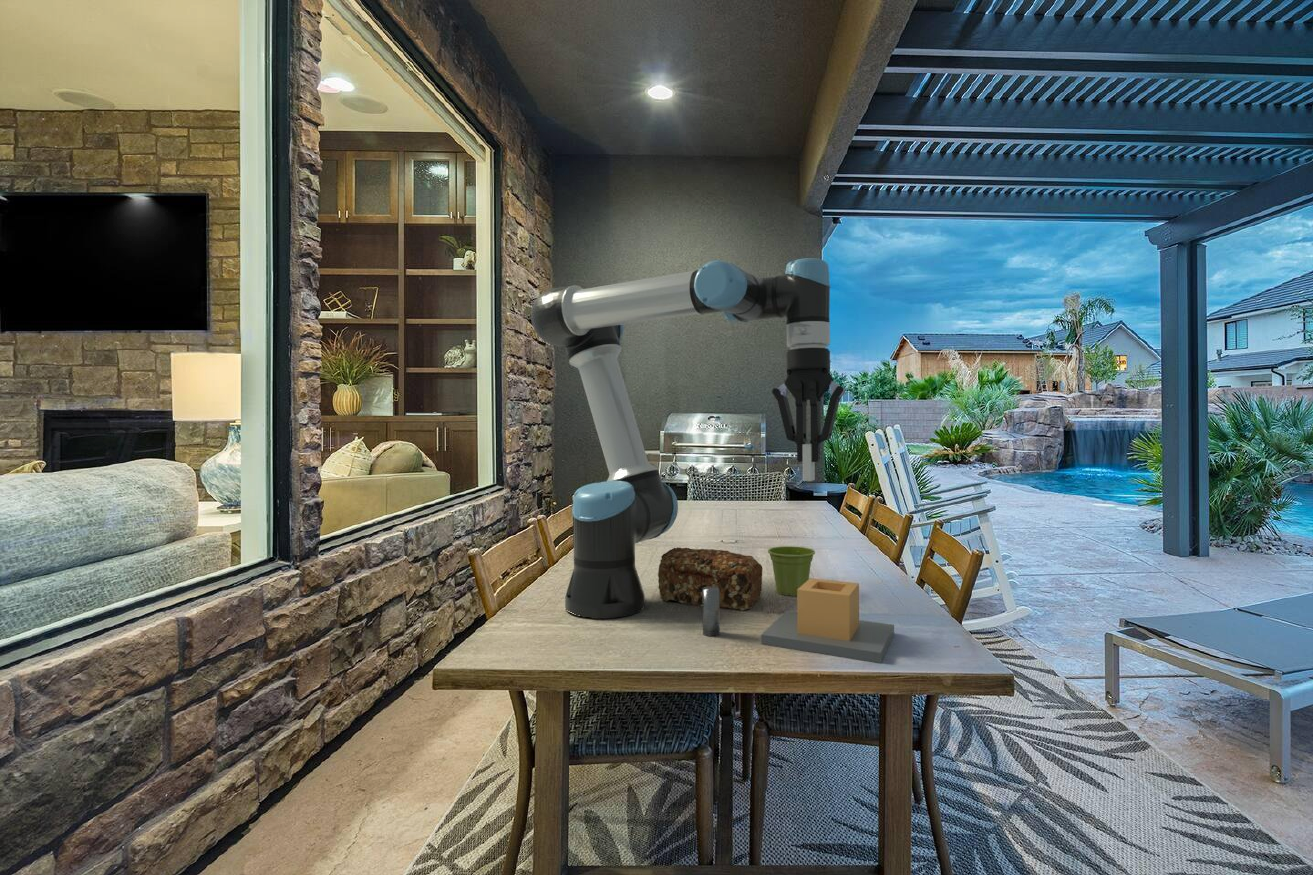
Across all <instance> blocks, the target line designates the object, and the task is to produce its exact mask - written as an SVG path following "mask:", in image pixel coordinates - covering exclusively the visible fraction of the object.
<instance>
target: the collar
mask: <svg viewBox="0 0 1313 875" xmlns="http://www.w3.org/2000/svg"><path fill="white" fill-rule="evenodd" d="M796 598H797V599H796V600H797V605H796V606H797V611H796V612H797V628H798V634H805V635H812V636H818V637H825V638H832V639H838V640H845V641H850V639H851V638H852V636H853V635H854V633H855V631H856V630H857V628H858V627H859V620H860V583H859V582H851V581H850V582H849V581H840V580H830V579H824V578H821V579H820V578H811V577H809V580H807V581H806V582H805V583H804V584H803V585H802V586H801V587H800V588H798V589H797V596H796Z"/></svg>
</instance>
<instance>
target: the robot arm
mask: <svg viewBox="0 0 1313 875" xmlns="http://www.w3.org/2000/svg"><path fill="white" fill-rule="evenodd" d="M785 267H786V268H785V271H784V274H781V275H777V276H776V275H775V276H768V277H758V276H755V275H753V274H751V273H750V272H747V270H746V271H745V270H744V269H742V268H740V267H739V266H737V265H736V264H734V263H730V262H728V261H722V260H711V261H709V262H707V263H705V264H703V266H702V267H700V269H697V270H691V271H684V272H679V273H673V274H666V275H662V276H661V275H660V276H655V277H649V278H642V279H635V280H631V281H630V280H629V281H624V282H619V283H617V282H616V283H612V284H608V285H607V284H606V285H601V286H596V287H595V286H594V287H588V288H583V287H582V286H579V285H577V284H574V285H568V286H562V287H554V288H551V289H548V290H545V291H544V292H542V293H541V294H540V295H538V297H537V298H536V300H535V301H534V303H533V305H532V308H531V313H530V314H531V315H530V316H531V317H530V318H531V326H532V327H533V330H534V331H535V334H537V336H538V337H539V338H540V339H541V340H542V341H543V342H546V344H549V345H551V346H553V347H554V346H555V347H560V348H565V353H566V355H567V358H568V362H569V365H570V366H572V367H574V368H576V369H577V370H578V371H579V372H578V373H579V376H580V378H581V382H582V385H583V388H584V392H585V395H586V398H587V402H588V405H589V410H590V412H591V415H592V419H593V423H594V427H595V429H596V433H597V436H598V439H599V443H600V446H601V450H602V452H603V457H604V459H605V464H606V467H607V470H608V474H609V475H608V477H607V479H606V481H601V482H593V483H588V484H586V485H582V486H581V487H579V488H577V490H576V491H575V492H574V495H573V496H572V497H573V498H572V509H571V515H572V529H573V530H572V531H573V532H572V533H573V534H572V535H573V537H572V538H573V540H572V543H573V544H572V545H573V569H572V573H571V576H570V579H569V583H568V586H567V589H566V593H565V595H564V597H565V598H564V604H565V607H564V609H565V608H566V609H565V611H566V610H568V611H570V612H572V613H574V614H576V615H580V616H584V617H583V618H585V617H593V618H592V619H615V618H623V617H627V616H631V615H634V614H637V613H639V612H641V611H642V610H644V608H645V607H646V604H645V603H646V599H645V597H646V596H645V591H644V588H643V585H642V582H641V579H640V577H639V574H638V570H637V568H636V544H638V543H642V542H644V541H645V542H646V541H647V540H653V539H656V538H658V537H660V536H661V535H663V534H665V533H666V532H668V531H669V530H670V529H671V528H672V526H673V525H674V523H675V521H676V519H677V516H678V512H679V504H678V499H677V495H676V493H675V492H674V490H673V488H672V487H671V486H670V485H668V484H666V482H664V481H662V477H661V474H660V471H659V469H658V468H657V467H656V466H654V465H652V464H651V463H650V462H649V460H648V457H647V454H646V449H645V447H644V442H643V440H642V437H641V434H640V430H639V428H638V427H639V426H638V423H637V421H636V416H635V414H634V411H633V408H632V404H631V401H630V397H629V394H628V391H627V386H626V384H625V380H624V377H623V373H622V371H621V367H620V364H619V360H618V357H619V355H620V353H621V351H622V346H621V341H622V335H623V334H624V325H628V324H629V325H630V324H636V323H642V322H650V321H659V320H665V319H673V318H674V319H675V318H681V317H688V316H694V315H695V316H697V315H704V314H714V313H722V315H723V316H724V317H725V319H726V320H727V321H729V322H733V323H734V322H735V323H736V322H743V323H747V322H749V321H759V320H768V319H779V318H781V319H783V318H786V346H787V348H789V349H788V350H787V351H786V375H785V378H784V380H783V383H781V385H780V386H778V387H777V388H775V387H774V388H772V389H771V390H772V391H771V393H772V395H773V396H774V398H775V400H776V401H777V404H778V407H779V408H778V410H779V412H780V416H781V421H782V425H783V430H784V432H785V437H786V440H787V441H791V442H793V443H795V444H796V452H797V453H796V459H797V462H799V463H800V462H801V463H802V481H803V482H813V481H815V480H816V479H815V476H816V473H815V471H816V469H815V468H816V467H815V466H816V465H815V464H816V463H819V462H820V460H821V444H822V443H823V442H827V441H828V440H830V439H831V438H832V434H833V430H834V427H835V422H836V419H837V418H836V417H837V414H838V410H839V404H840V400H841V399H842V397H843V395H844V394H845V393H846V391H847V390H846V389H847V388H846V387H845V386H841V385H840V384H838V383H836V382H835V381H834V379H833V376H832V374H831V358H830V357H831V350H829V348H827V347H829V346H830V345H831V331H830V330H831V325H830V299H831V297H830V296H831V293H830V292H831V290H830V289H831V284H830V272H829V264H828V263H827V262H826V261H825V260H823V259H821V258H816V257H815V258H814V257H809V258H808V257H807V258H806V257H805V258H799V259H795V260H791V261H789V262H788V263H787V264H786V266H785ZM828 390H829V394H830V398H829V401H828V404H827V410H826V414H825V418H824V423H823V426H822V424H821V423H822V422H821V420H822V418H821V417H822V415H821V412H822V411H821V410H822V409H821V406H822V398H823V397H824V396H825V395H826V393H827V392H828ZM788 391H789V392H790V394H791V395H792V397H793V398H794V399H795V404H794V405H795V410H796V411H795V414H796V415H795V419H796V420H795V422H796V424H794V419H793V415H792V411H791V408H790V404H789V399H788V398H787V397H788V395H789V394H788ZM808 401H809V406H810V440H809V443H808V439H807V405H808Z"/></svg>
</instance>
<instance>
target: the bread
mask: <svg viewBox="0 0 1313 875" xmlns="http://www.w3.org/2000/svg"><path fill="white" fill-rule="evenodd" d="M660 558H661V559H660V560H659V561H660V562H659V565H658V572H657V577H658V582H657V583H658V586H657V587H658V590H659V596H660V599H661V600H663V601H665V602H669V601H675V602H677V603H680V604H687V605H693V606H699V607H703V606H702V588H704V587H718V588H719V609H721V608H722V609H725V608H729V609H735V610H740V611H744V610H745V611H746V610H749V609H751V608H753V606H754V604H756V603H757V602H758V601H759V600H760V599H761V595H762V589H763V587H762V586H763V566H762V564H761V563H759V562H758V561H757V559H755V558H754V557H753V556H752V555H745V554H741V553H736V552H732V551H729V550H724V549H723V550H722V549H713V548H712V549H711V548H710V549H708V548H700V549H699V548H690V547H683V548H682V547H673V548H672V549H670V550H668V551H666V552H664V553H663V554H662V555H661V557H660Z"/></svg>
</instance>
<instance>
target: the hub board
mask: <svg viewBox="0 0 1313 875" xmlns="http://www.w3.org/2000/svg"><path fill="white" fill-rule="evenodd" d="M894 635H895V624H891V623H884V622H876V621H869V620H862V619H859V627H858V628H857V630H856V631H855V633H854V635H853V636H852V638H851V639H850V641H845V640H838V639H832V638H825V637H818V636H812V635H805V634H798V628H797V611H794V610H786V611H785V612H784V613H782V614H781V615H780V616H779V617H778V618H777V619H776V620H775V621H774V622H772V624H770V626H769V627H768V628H766V629H765V630H764V631H763V632H762V633H761V635H760V636H761V639H760V640H761V641H760V642H761V645H766V646H771V647H779V648H785V649H790V650H796V651H797V650H798V651H801V652H803V651H804V652H808V653H810V652H811V653H815V654H816V653H817V654H821V655H828V656H834V657H840V658H844V659H845V658H846V659H853V660H859V661H865V662H871V663H876V664H881V663H882V661H883V659H884V657H885V655H886V652H887V650H888V649H889V646H890V645H891V644H890V643H891V642H892V639H893V637H894Z"/></svg>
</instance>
